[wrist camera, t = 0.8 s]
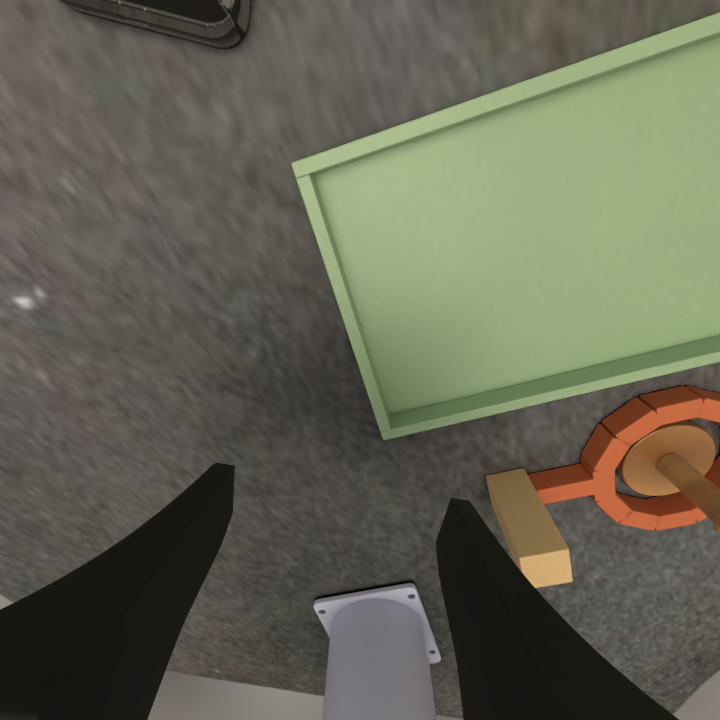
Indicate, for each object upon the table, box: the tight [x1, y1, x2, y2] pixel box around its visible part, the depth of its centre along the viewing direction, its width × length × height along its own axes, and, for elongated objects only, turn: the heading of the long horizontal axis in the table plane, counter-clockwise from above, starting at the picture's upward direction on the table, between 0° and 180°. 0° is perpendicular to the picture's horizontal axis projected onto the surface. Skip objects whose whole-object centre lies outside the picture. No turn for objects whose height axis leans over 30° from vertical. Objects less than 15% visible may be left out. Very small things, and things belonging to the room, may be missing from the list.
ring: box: [486, 386, 720, 588], centre depth 21 cm, size 9×15×6 cm, turn 107°
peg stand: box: [616, 420, 720, 534], centre depth 21 cm, size 5×5×6 cm
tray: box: [291, 12, 720, 440], centre depth 18 cm, size 14×21×2 cm
